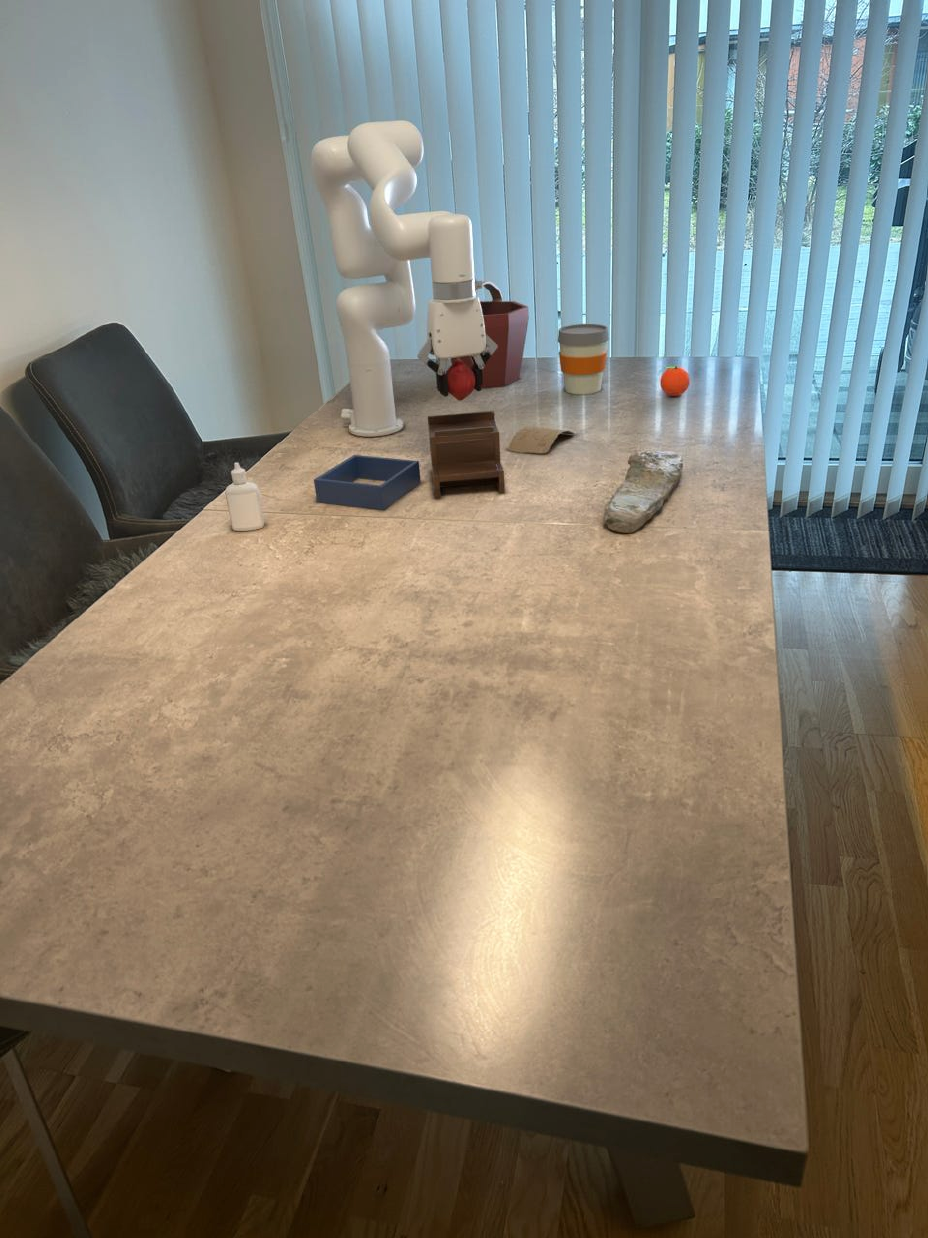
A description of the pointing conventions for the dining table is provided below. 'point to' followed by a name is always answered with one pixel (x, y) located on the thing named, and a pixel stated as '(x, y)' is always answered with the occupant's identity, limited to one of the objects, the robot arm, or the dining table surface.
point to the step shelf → (465, 450)
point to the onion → (460, 380)
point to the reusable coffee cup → (583, 356)
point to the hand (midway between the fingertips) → (460, 391)
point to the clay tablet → (535, 439)
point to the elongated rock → (643, 490)
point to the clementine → (674, 381)
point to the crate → (343, 491)
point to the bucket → (502, 338)
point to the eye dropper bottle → (243, 502)
